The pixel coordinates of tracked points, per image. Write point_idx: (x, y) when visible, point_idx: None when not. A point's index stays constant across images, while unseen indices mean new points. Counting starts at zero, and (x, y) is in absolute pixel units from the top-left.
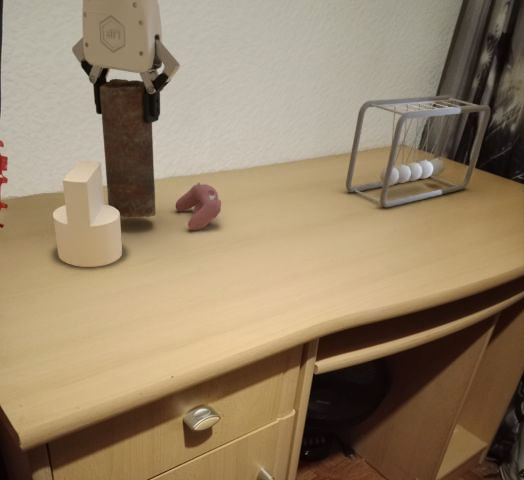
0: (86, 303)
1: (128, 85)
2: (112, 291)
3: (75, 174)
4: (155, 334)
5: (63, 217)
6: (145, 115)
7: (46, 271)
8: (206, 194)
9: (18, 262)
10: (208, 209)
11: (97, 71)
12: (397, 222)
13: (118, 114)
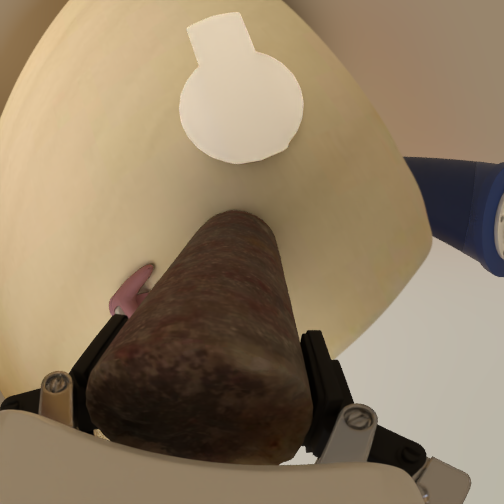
0: (178, 14)
1: (145, 405)
2: (162, 45)
3: (235, 51)
4: (95, 18)
5: (268, 70)
6: (112, 324)
7: (268, 47)
8: (128, 318)
9: (317, 55)
10: (119, 291)
11: (335, 451)
12: (26, 367)
13: (185, 285)
